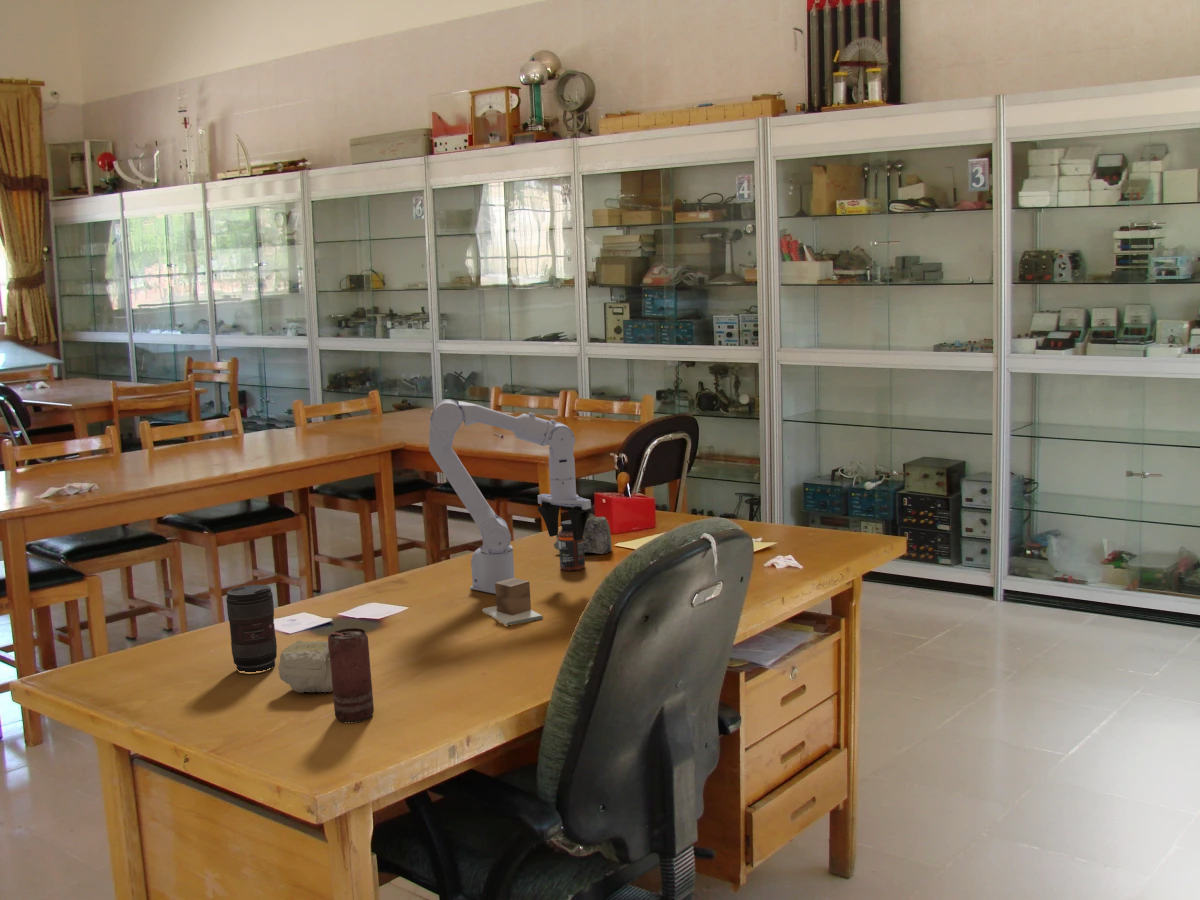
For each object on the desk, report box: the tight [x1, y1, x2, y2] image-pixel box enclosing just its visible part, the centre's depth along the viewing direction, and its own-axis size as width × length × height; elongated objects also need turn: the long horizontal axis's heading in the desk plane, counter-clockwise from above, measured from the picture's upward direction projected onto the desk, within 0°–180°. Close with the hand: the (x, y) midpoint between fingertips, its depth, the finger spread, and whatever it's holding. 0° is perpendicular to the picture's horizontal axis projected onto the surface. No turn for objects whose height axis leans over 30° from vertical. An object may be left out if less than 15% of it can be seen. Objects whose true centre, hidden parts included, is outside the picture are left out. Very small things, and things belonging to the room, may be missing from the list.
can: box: [327, 627, 375, 724], centre depth 184 cm, size 6×6×14 cm
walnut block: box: [495, 577, 532, 615], centre depth 237 cm, size 5×5×6 cm
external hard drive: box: [482, 605, 544, 626], centre depth 237 cm, size 2×8×12 cm
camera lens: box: [225, 584, 278, 672], centre depth 210 cm, size 8×8×15 cm
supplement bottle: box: [558, 519, 586, 572], centre depth 271 cm, size 6×6×11 cm
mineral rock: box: [553, 513, 613, 555], centre depth 287 cm, size 13×11×10 cm
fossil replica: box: [277, 640, 333, 694], centre depth 198 cm, size 12×8×10 cm
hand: (565, 537), depth 258 cm, fingers open, 7 cm apart
